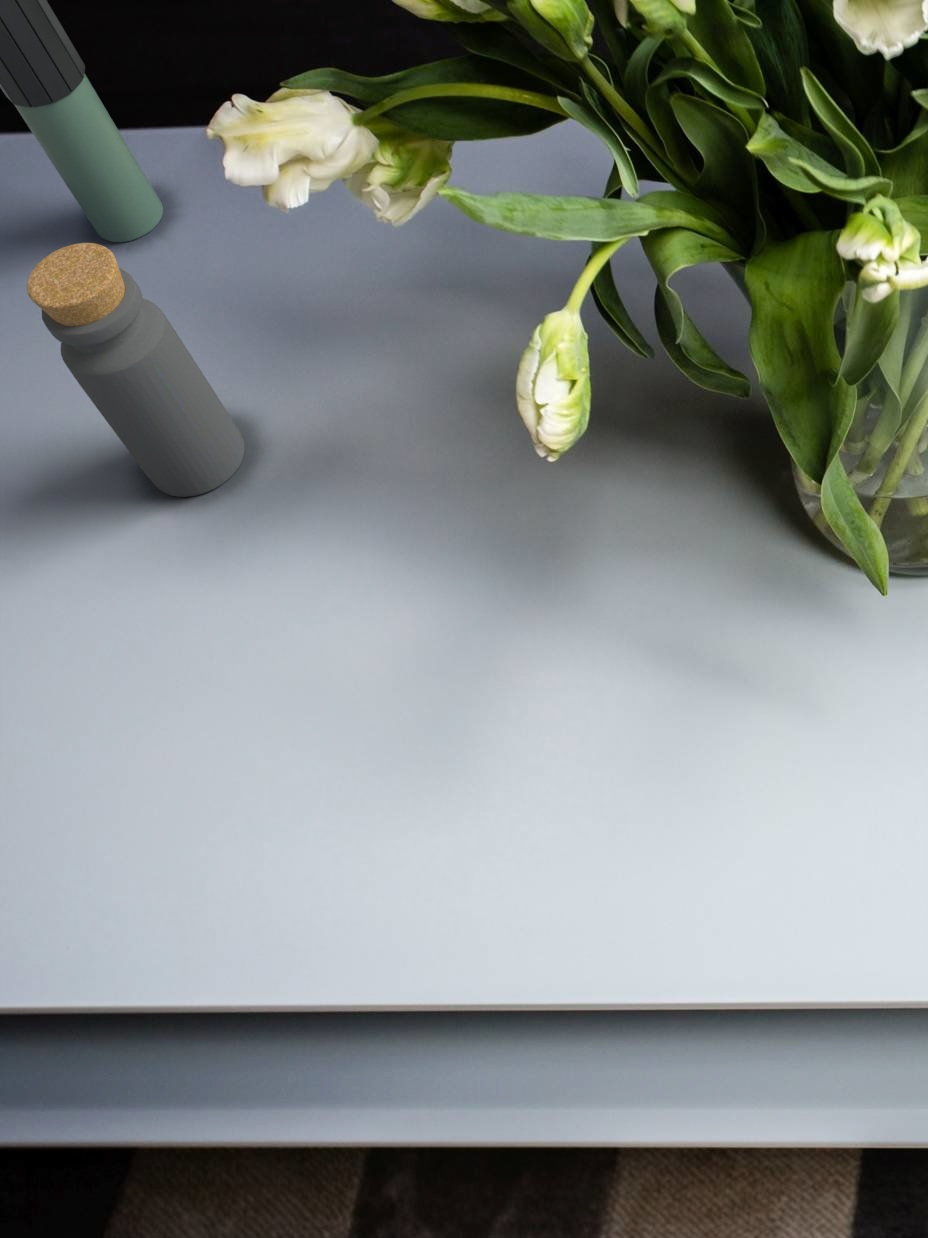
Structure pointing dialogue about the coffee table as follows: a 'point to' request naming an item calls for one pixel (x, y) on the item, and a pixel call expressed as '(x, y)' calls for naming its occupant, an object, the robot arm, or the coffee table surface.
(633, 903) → the coffee table surface
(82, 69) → the dark grey grooved cylinder
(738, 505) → the coffee table surface
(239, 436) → the bottle
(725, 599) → the coffee table surface
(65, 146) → the spray can
